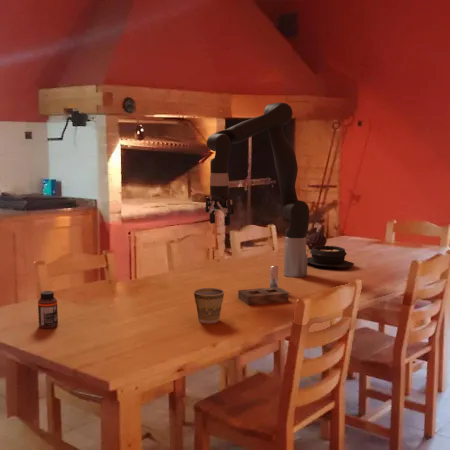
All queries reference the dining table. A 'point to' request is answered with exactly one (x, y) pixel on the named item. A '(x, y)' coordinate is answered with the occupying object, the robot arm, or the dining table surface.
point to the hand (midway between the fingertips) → (219, 224)
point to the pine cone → (316, 240)
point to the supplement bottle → (47, 310)
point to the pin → (273, 276)
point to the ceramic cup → (208, 304)
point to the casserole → (328, 257)
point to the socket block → (263, 295)
